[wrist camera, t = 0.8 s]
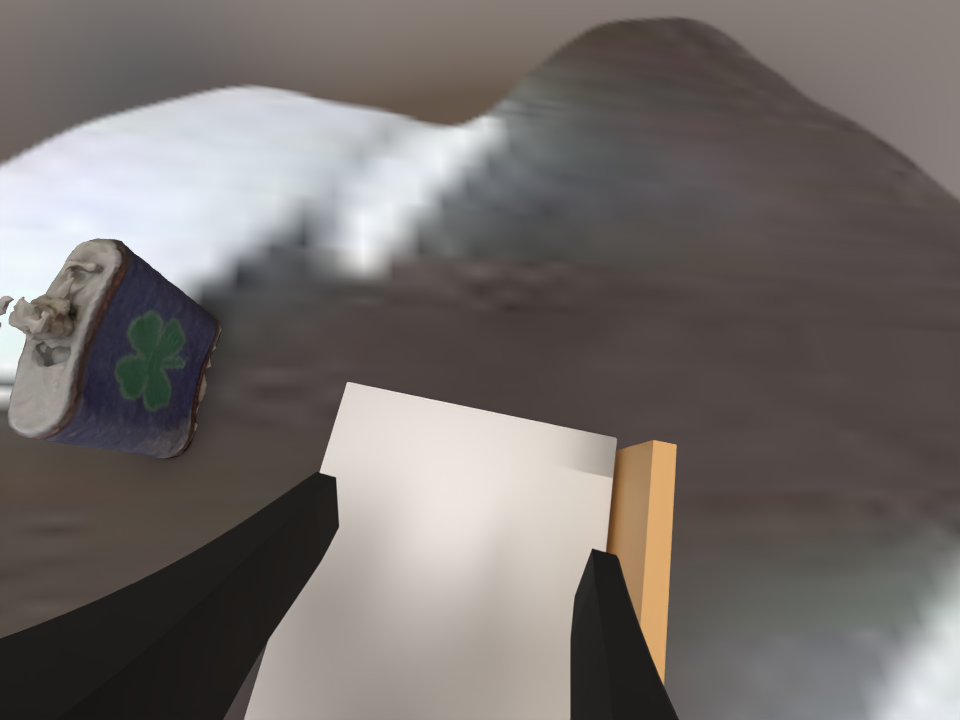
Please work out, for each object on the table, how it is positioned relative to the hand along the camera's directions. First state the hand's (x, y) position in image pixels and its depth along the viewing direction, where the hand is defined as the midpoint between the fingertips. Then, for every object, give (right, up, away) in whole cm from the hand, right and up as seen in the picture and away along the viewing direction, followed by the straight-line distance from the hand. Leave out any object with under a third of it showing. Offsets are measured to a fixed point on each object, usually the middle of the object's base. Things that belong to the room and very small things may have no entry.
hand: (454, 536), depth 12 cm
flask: (-17, +3, +15) cm, 23 cm away
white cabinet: (-1, -9, +12) cm, 15 cm away
